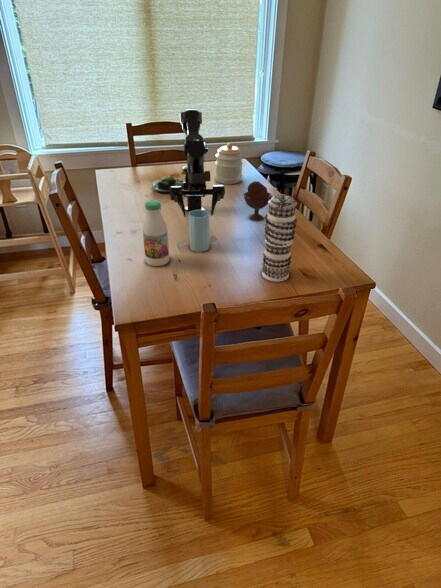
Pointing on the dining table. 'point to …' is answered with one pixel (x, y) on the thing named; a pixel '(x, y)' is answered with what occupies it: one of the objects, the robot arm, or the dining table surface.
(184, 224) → the dining table surface
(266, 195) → the ice cream bowl
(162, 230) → the milk bottle
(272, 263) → the decorative candle
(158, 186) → the salad plate
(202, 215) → the tumbler
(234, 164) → the jar
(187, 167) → the soupspoon
